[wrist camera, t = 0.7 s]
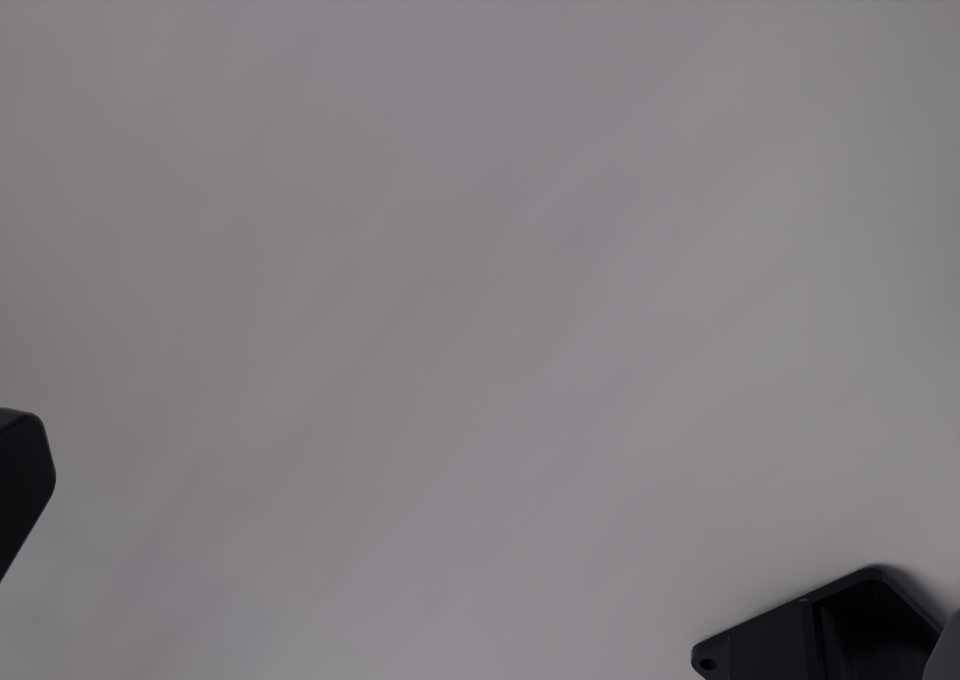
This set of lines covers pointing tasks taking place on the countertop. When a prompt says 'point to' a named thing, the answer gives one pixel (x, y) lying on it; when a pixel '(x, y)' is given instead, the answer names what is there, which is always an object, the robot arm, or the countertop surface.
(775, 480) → the countertop surface
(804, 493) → the countertop surface
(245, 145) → the countertop surface
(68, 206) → the countertop surface
